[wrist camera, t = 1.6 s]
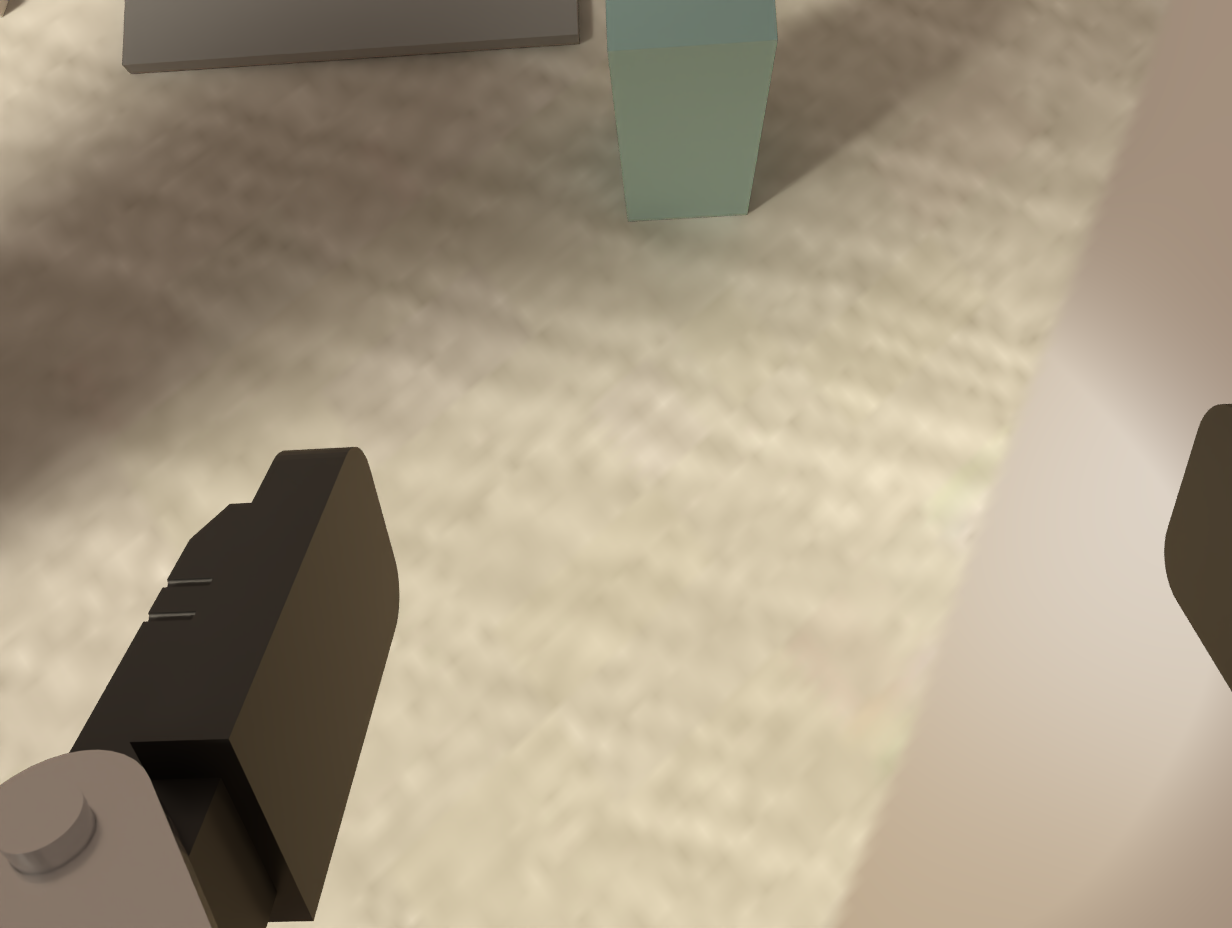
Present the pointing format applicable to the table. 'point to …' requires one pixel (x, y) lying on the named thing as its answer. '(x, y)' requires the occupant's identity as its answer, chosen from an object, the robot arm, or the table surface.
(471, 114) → the table surface
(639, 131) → the teal block
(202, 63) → the gray mat
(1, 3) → the external hard drive
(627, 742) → the table surface
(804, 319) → the table surface
